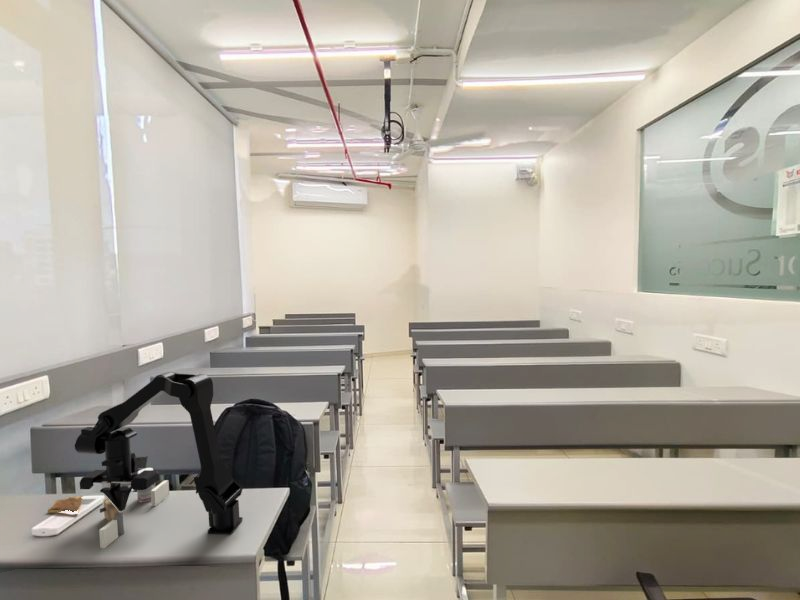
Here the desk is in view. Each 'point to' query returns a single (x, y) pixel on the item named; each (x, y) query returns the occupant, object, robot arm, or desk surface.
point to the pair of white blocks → (116, 525)
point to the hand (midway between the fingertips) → (122, 510)
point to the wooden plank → (109, 510)
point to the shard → (66, 505)
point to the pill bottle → (145, 494)
